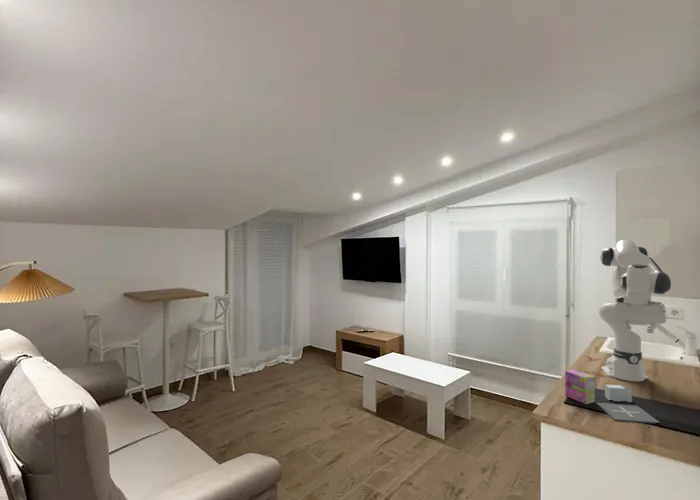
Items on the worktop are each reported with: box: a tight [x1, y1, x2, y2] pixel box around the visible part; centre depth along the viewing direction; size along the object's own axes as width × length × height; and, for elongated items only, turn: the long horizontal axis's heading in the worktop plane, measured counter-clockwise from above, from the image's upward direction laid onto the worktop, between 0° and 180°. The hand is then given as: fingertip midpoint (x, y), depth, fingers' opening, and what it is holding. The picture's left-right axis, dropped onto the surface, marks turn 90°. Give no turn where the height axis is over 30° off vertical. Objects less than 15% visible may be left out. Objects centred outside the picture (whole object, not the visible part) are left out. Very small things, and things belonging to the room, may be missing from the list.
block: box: [604, 384, 633, 403], centre depth 174 cm, size 4×9×6 cm, turn 80°
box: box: [564, 369, 596, 405], centre depth 174 cm, size 10×6×12 cm, turn 21°
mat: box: [595, 402, 661, 424], centre depth 160 cm, size 16×16×1 cm
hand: (639, 331), depth 172 cm, fingers open, 8 cm apart
